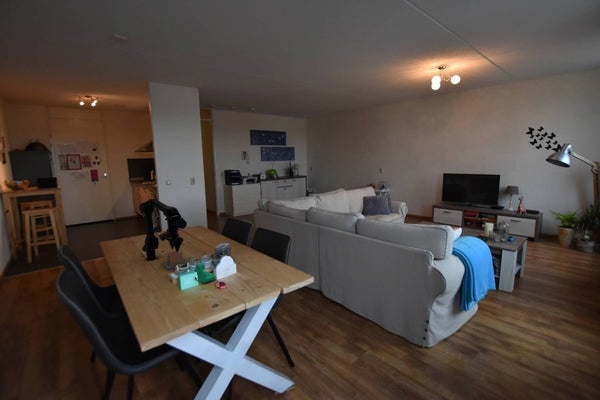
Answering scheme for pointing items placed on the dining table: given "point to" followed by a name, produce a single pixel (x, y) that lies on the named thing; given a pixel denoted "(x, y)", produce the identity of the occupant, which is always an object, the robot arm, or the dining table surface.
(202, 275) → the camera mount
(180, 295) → the dining table surface
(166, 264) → the base plate
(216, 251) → the light bulb box
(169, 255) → the housing
